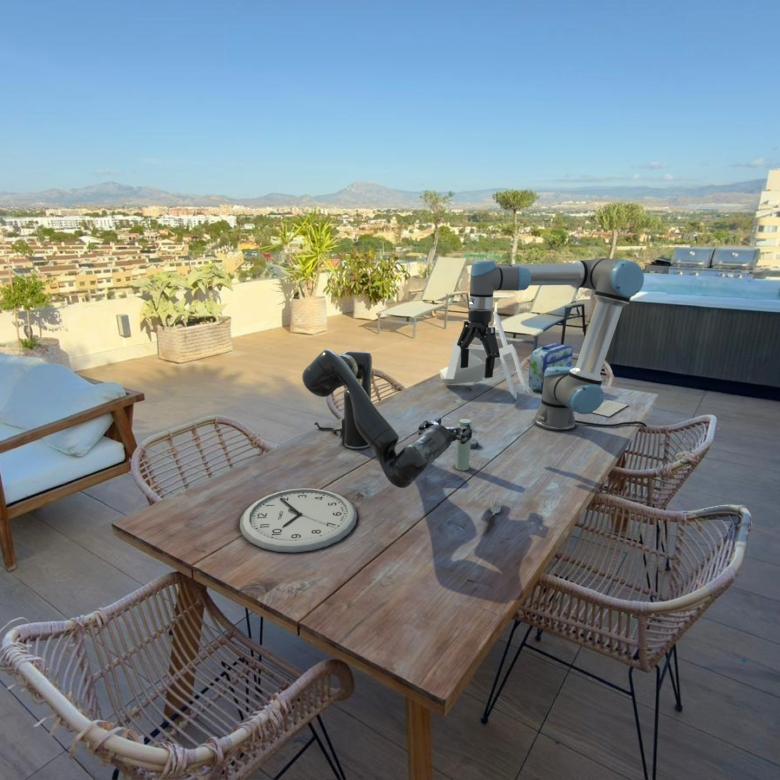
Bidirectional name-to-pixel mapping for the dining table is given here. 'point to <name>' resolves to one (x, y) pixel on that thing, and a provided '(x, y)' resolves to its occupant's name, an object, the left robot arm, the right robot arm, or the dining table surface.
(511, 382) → the white plastic object
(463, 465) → the bottle
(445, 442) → the left robot arm
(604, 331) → the right robot arm
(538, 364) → the lunch box
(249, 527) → the wall clock
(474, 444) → the lid
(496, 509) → the fork
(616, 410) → the invitation card
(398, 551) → the dining table surface
